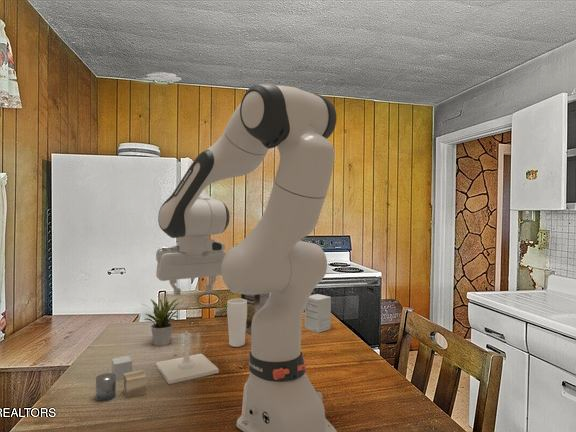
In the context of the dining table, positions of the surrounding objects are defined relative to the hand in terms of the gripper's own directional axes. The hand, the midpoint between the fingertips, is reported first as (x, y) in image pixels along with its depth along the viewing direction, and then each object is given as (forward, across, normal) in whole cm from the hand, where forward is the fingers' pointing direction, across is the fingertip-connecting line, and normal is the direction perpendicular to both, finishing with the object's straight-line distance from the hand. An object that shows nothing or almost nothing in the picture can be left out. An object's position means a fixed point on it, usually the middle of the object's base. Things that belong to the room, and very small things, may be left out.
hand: (193, 293), depth 113 cm
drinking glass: (+22, +19, +12) cm, 32 cm away
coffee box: (+22, +31, +22) cm, 44 cm away
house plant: (+22, -1, +26) cm, 34 cm away
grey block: (+22, -18, +6) cm, 29 cm away
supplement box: (+22, +53, +12) cm, 59 cm away
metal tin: (+22, -24, -5) cm, 33 cm away
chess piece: (+21, -2, +1) cm, 21 cm away
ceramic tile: (+22, -2, +1) cm, 22 cm away
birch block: (+22, -17, -6) cm, 29 cm away
